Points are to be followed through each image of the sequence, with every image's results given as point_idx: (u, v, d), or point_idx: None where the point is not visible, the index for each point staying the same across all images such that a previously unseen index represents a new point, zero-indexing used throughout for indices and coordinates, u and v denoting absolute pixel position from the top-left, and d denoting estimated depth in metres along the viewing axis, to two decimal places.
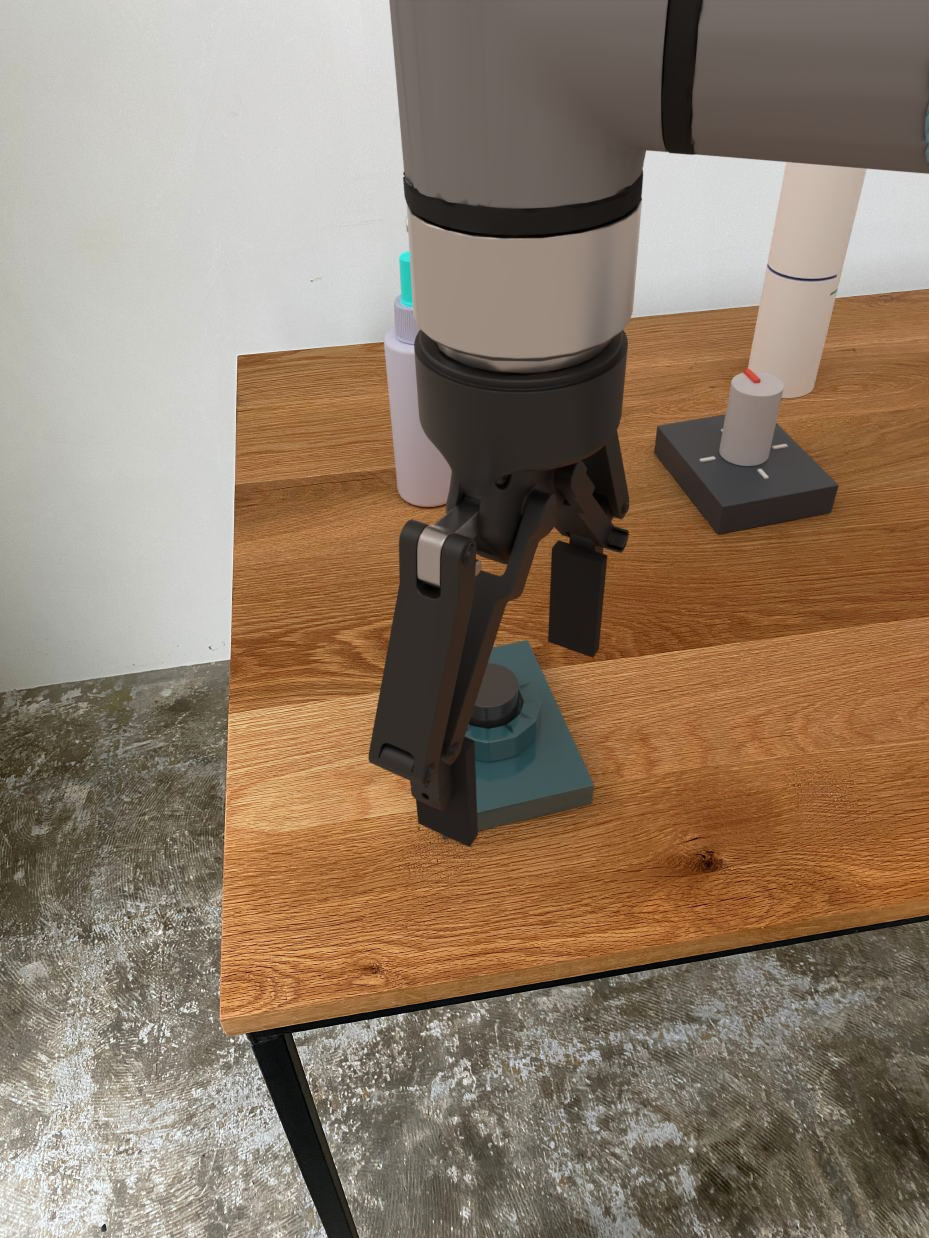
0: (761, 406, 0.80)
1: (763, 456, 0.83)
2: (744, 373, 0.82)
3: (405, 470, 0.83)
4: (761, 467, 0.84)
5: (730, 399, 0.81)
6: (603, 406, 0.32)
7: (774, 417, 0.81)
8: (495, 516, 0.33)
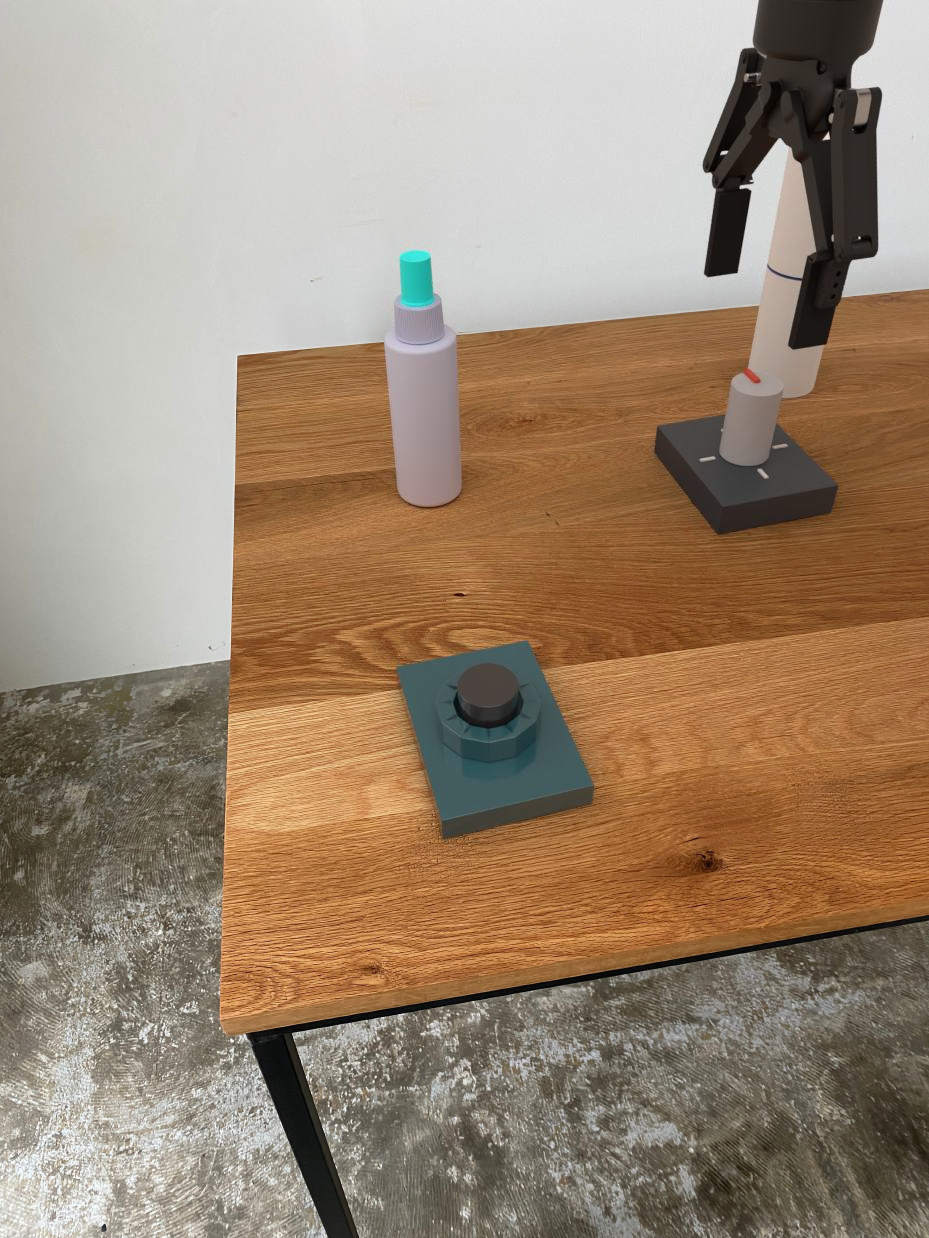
0: (761, 406, 0.80)
1: (763, 456, 0.83)
2: (744, 373, 0.82)
3: (405, 470, 0.83)
4: (761, 467, 0.84)
5: (730, 399, 0.81)
6: None
7: (774, 417, 0.81)
8: None
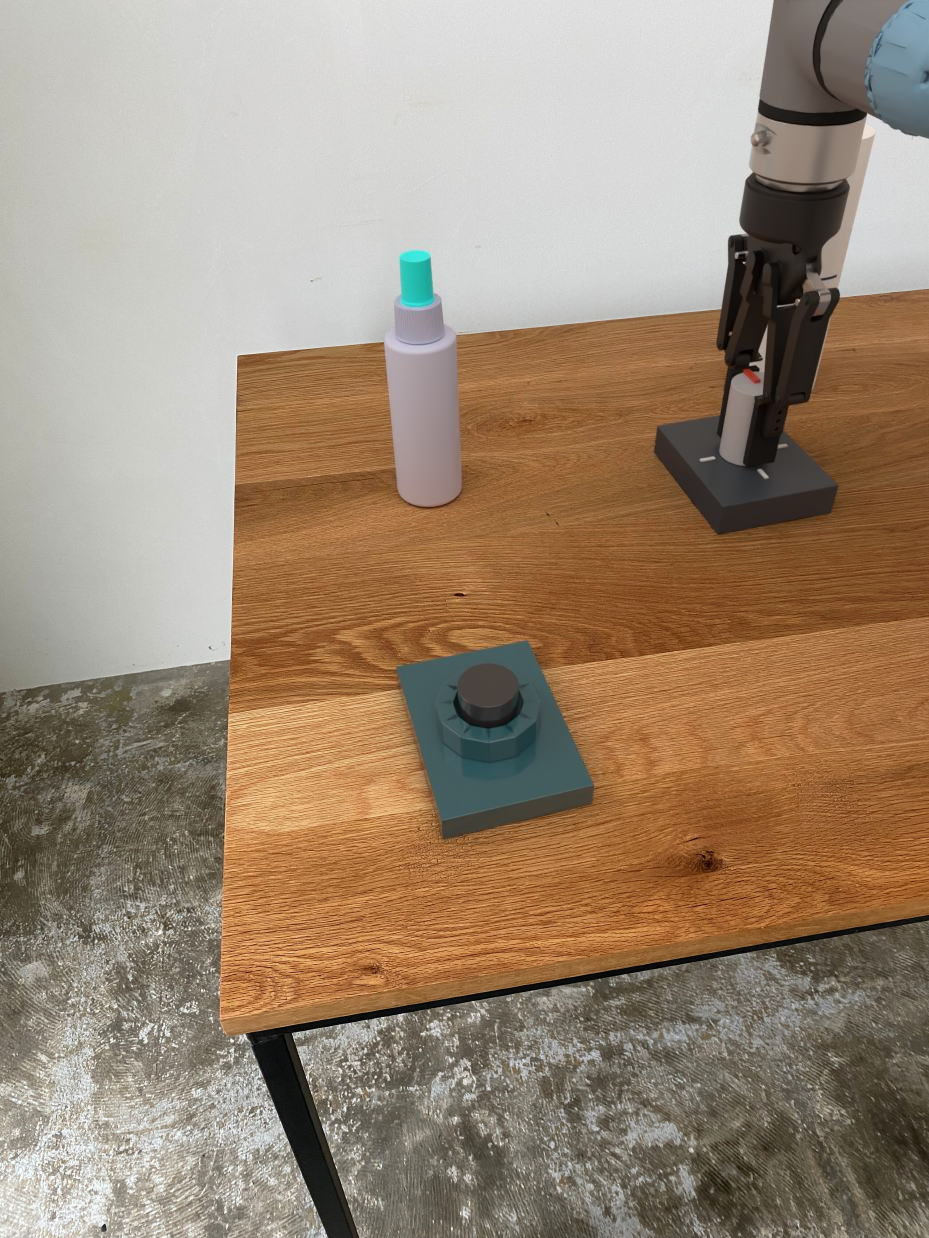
0: None
1: None
2: (744, 373, 0.82)
3: (405, 470, 0.83)
4: (761, 467, 0.84)
5: (730, 399, 0.81)
6: None
7: None
8: (821, 265, 0.70)
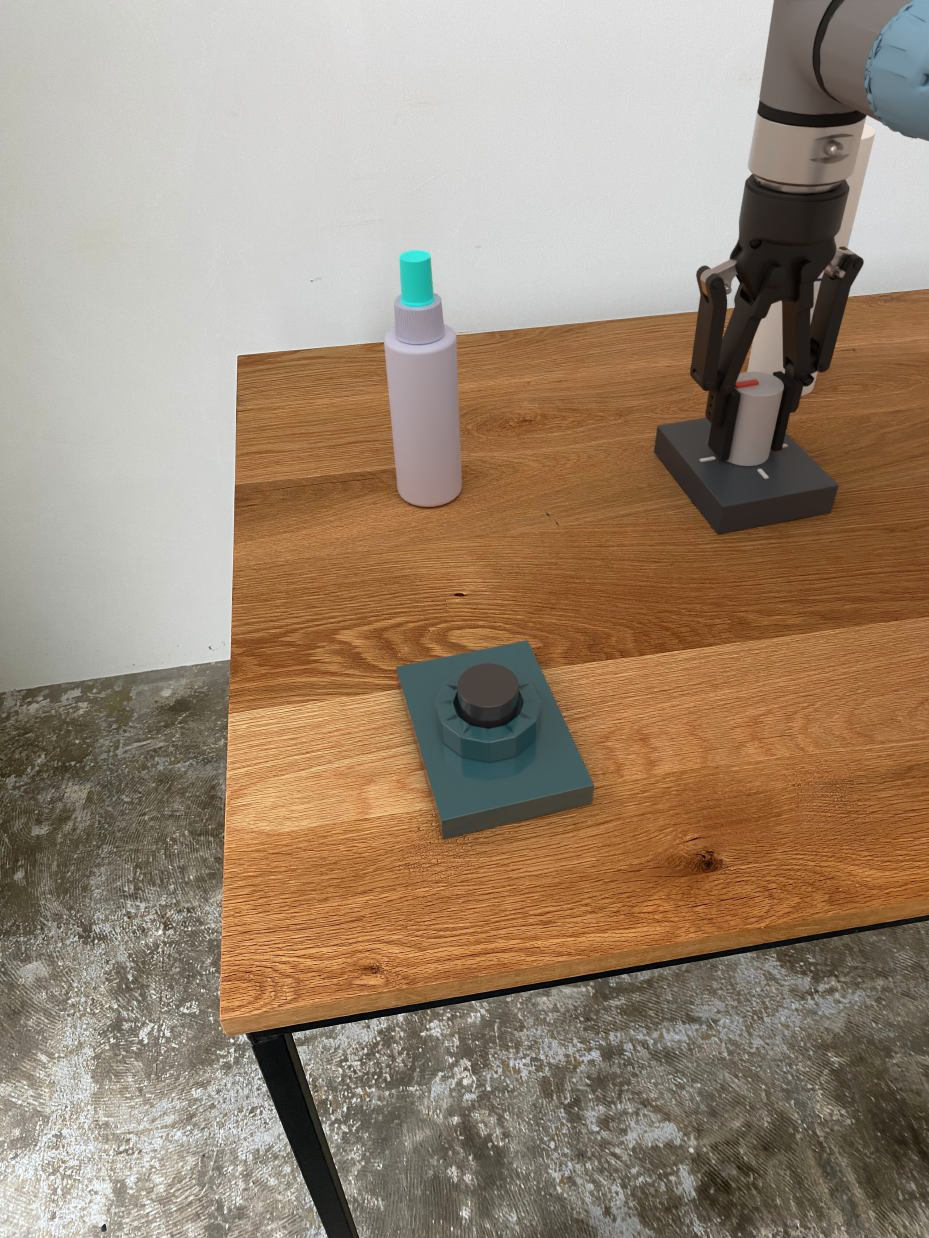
0: None
1: None
2: (738, 388, 0.80)
3: (405, 470, 0.83)
4: (761, 467, 0.84)
5: (764, 408, 0.80)
6: None
7: None
8: None
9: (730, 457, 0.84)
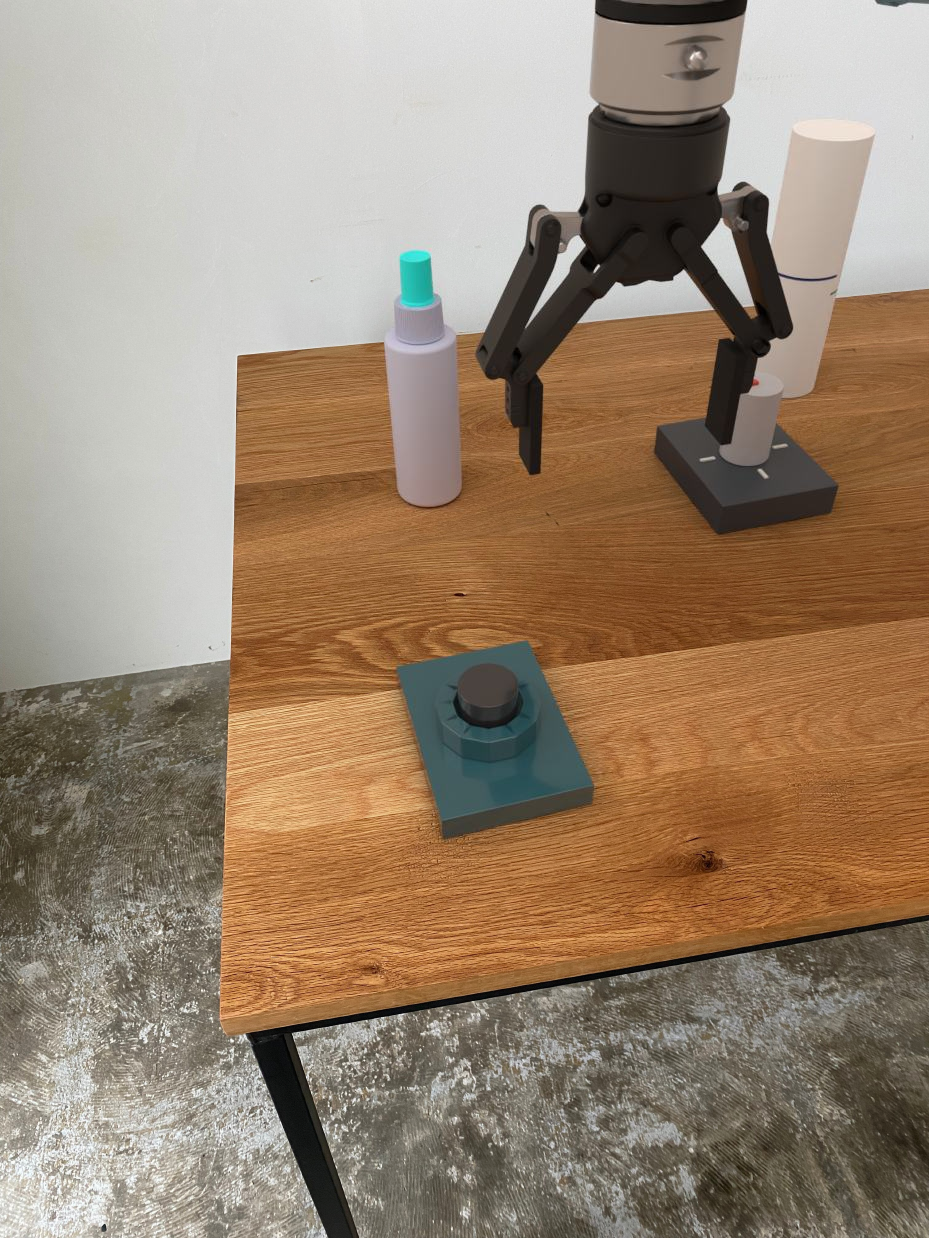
0: None
1: None
2: None
3: (405, 470, 0.83)
4: (761, 467, 0.84)
5: (764, 408, 0.80)
6: None
7: None
8: None
9: (730, 457, 0.84)
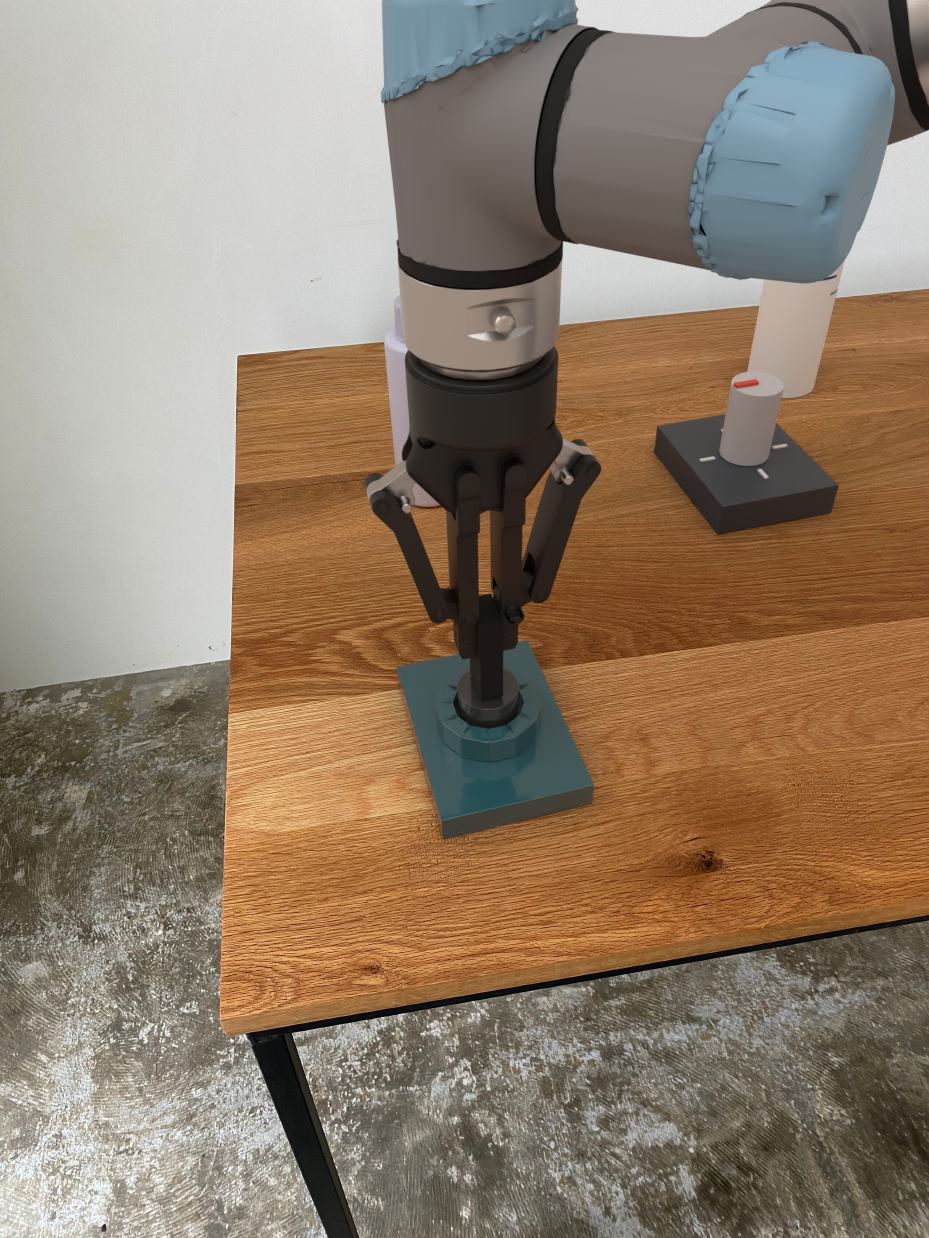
0: None
1: None
2: (738, 388, 0.80)
3: None
4: (761, 467, 0.84)
5: (764, 408, 0.80)
6: None
7: None
8: None
9: (730, 457, 0.84)
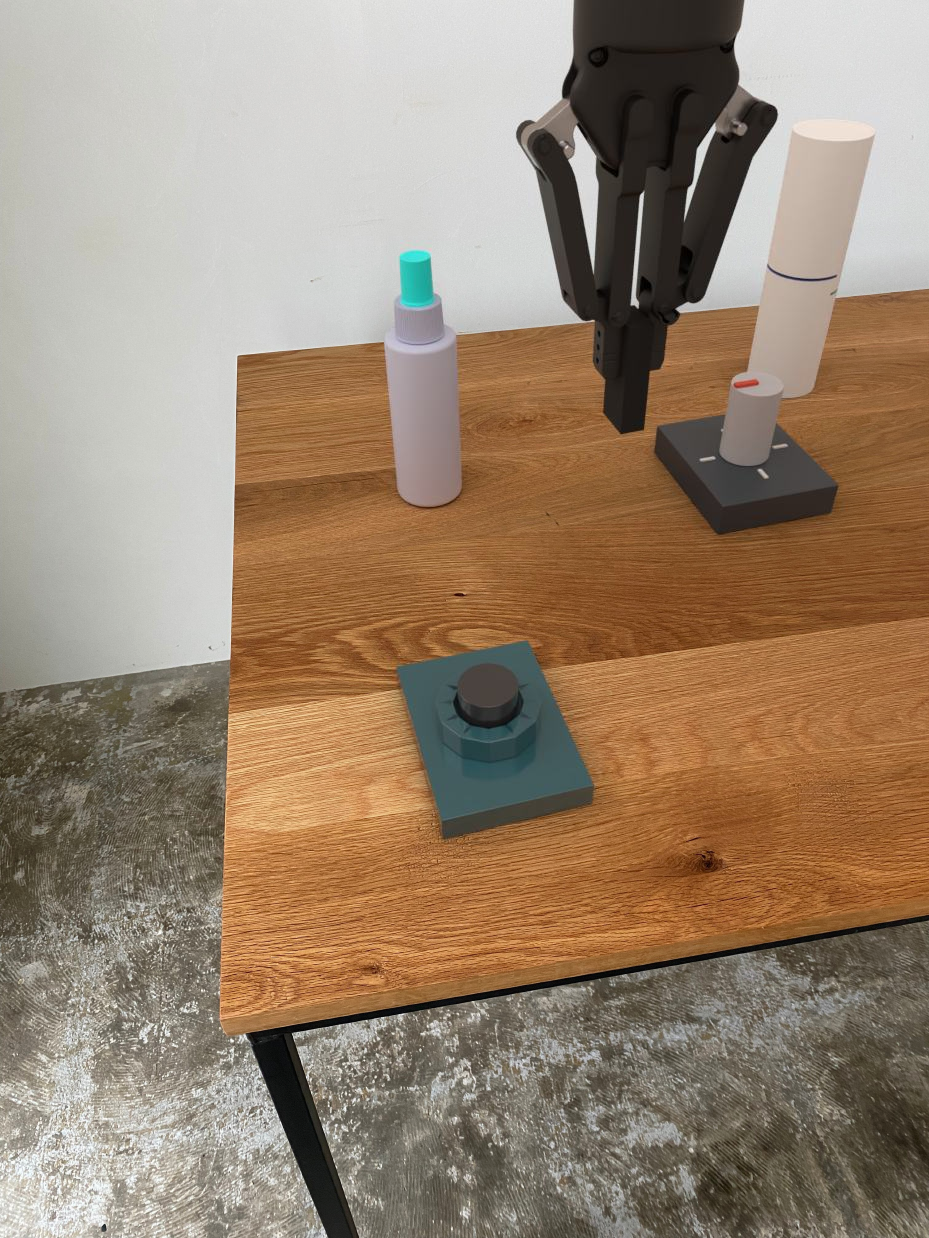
0: None
1: None
2: (738, 388, 0.80)
3: (405, 470, 0.83)
4: (761, 467, 0.84)
5: (764, 408, 0.80)
6: None
7: None
8: None
9: (730, 457, 0.84)
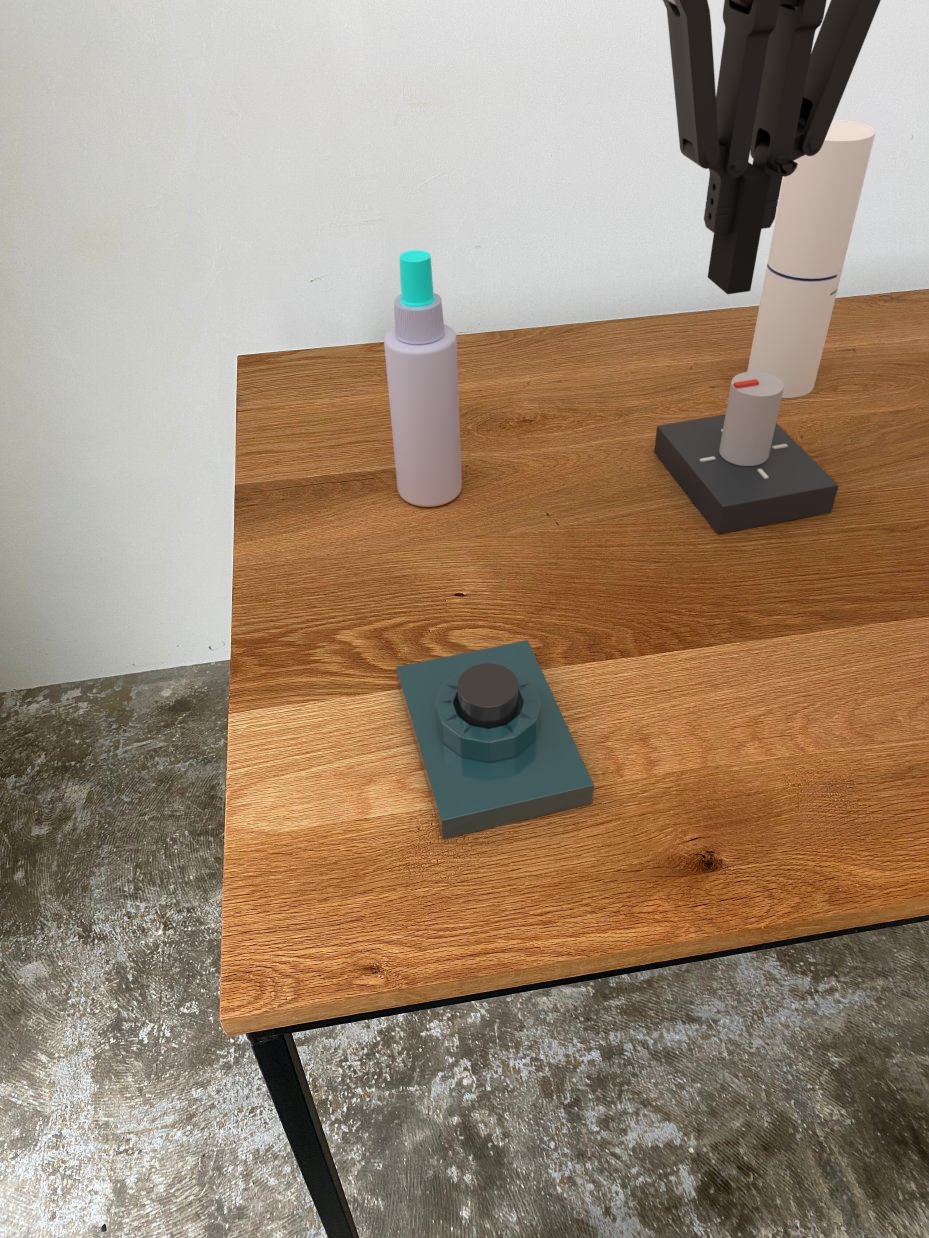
0: None
1: None
2: (738, 388, 0.80)
3: (405, 470, 0.83)
4: (761, 467, 0.84)
5: (764, 408, 0.80)
6: None
7: None
8: None
9: (730, 457, 0.84)
